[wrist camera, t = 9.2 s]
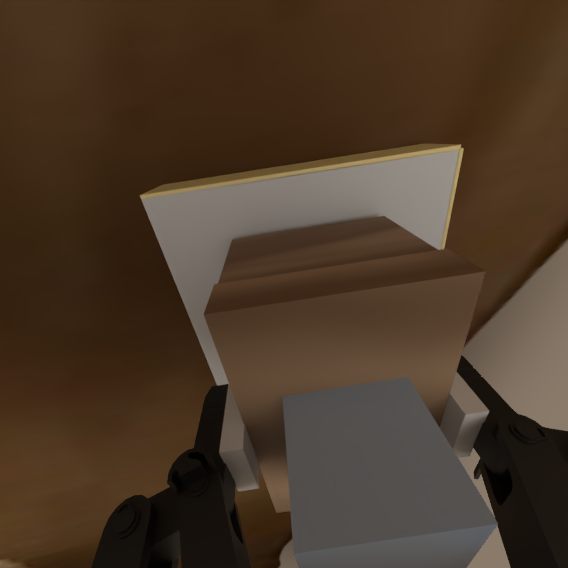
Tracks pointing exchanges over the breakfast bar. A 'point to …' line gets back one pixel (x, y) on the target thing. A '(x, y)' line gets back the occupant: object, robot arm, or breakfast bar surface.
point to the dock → (295, 211)
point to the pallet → (336, 322)
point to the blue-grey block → (378, 482)
